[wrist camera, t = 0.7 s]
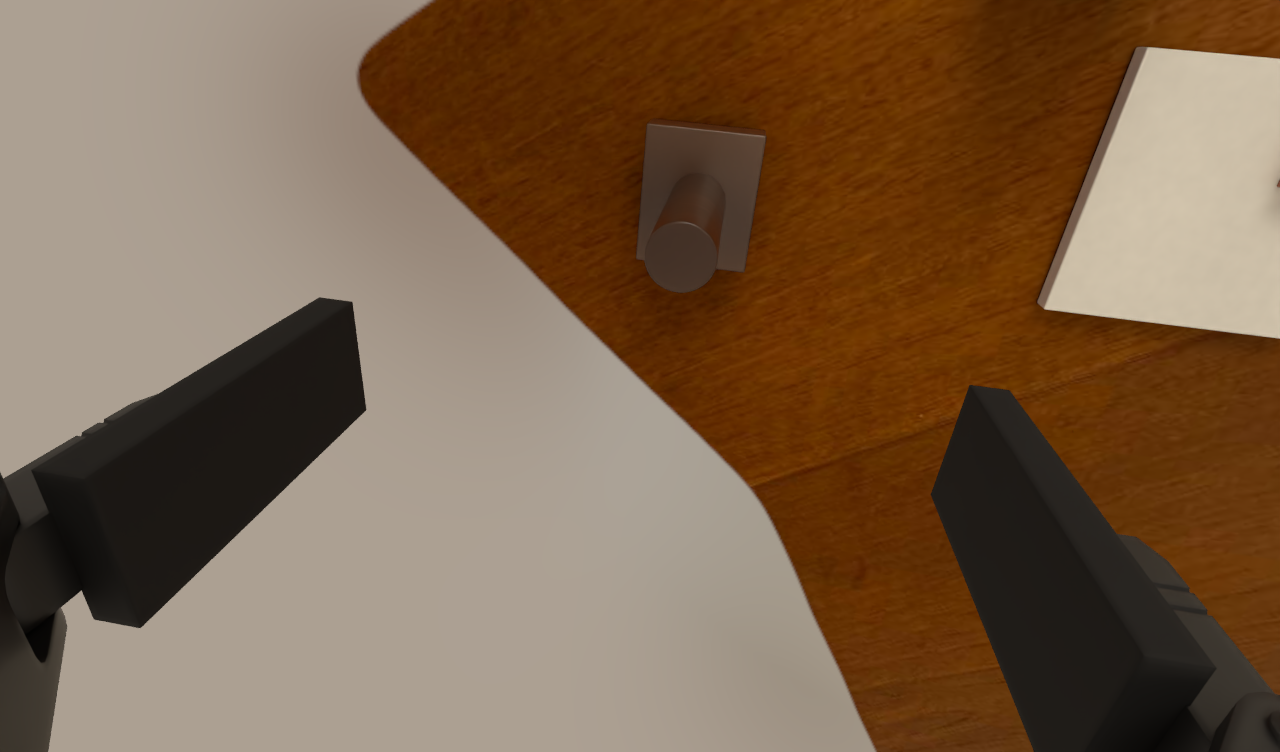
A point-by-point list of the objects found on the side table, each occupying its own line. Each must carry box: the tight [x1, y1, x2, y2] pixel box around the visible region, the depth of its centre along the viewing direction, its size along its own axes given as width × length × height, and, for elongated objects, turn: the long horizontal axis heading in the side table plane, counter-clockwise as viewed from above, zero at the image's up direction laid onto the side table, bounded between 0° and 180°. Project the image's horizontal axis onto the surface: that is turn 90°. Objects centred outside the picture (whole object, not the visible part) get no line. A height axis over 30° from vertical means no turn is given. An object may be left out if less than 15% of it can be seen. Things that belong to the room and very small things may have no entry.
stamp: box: [636, 119, 766, 293], centre depth 29 cm, size 6×5×12 cm
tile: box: [1037, 47, 1280, 339], centre depth 31 cm, size 12×12×1 cm
